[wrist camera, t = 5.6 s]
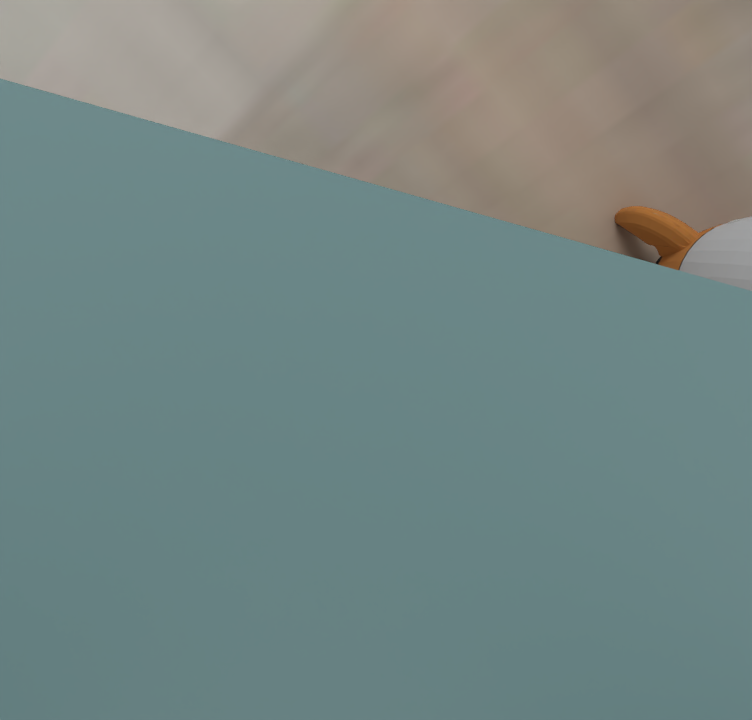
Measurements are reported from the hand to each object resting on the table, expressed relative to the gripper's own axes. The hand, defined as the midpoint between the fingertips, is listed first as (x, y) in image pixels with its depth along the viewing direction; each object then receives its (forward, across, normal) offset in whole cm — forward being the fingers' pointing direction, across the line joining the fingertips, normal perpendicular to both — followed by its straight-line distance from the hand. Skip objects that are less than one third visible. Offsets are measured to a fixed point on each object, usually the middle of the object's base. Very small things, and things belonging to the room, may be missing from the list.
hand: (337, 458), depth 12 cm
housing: (0, 0, 0) cm, 0 cm away
